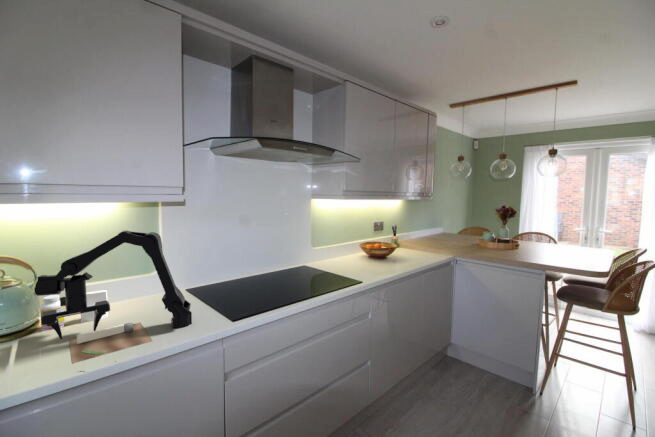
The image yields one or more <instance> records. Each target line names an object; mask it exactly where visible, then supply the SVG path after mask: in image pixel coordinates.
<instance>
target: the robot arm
mask: <svg viewBox="0 0 655 437" xmlns="http://www.w3.org/2000/svg"><path fill="white" fill-rule="evenodd" d="M124 243H125V244H130V245H133V246H136V247H137V246H138V247H142V249H143V250H144V252H145V254H146V255H147V256H148V257H149V258H150V259H151V261H152V264H153V266H154V268H155V271H156V275H158V278H159V280H160V283H161V286H162V288H163V290H164V291H163V292H164V294H163V295H162V298H161V301H162V303H163V305H164V310H167V311H168V312H169V313H171V314H172V317H171V319H170V321H171V324H170V325H171V328H172V329H182V328H186V327H189V326H190V325H192V322H193V321H192V320H193V319H192V318H193V317H192V316H193V315H192V311H191V305H192V304H191V303H190V302H189V301H187V300H186V298H185V296H184V294H183V293H182V291H181V290H180V289H179V288H178V287H177V285H176V283H175V281H174V278H173V276H172V274H171V270H170V268H169V266H168V262H167V260H166V259H165V256H164V251H163V243H162V237H161V235H160V234H159V233H157V232H153V231H152V232H147V233H146V232H141V231H140V232H138V231H131V230H122V231H121V232H118V234H117V235H115V236H113V237H111V238H110V239H108V240H106V241H105V242H102V243H100V244H99V245H97V246H95V247H94V248H92V249H90V250H88V251H85V252H83V253H80V254H78V255H75V256H72V257H70V258H69V259H66V260H64V261H63V262H62V263H61V265H60V269H59V272H57V274H54V275H53V274H52V275H50V274H49V275H47V274H43V275H42V274H41V275H39V276H37V281H36V282H35V287H34V289H33V290H34V293H35V296H37V297H40V296H50V295H60V294H61V293H62V292H63V291H64V294H65V295H64V296H62V297H61V296H60V297H59V301H60V306H63V307H65V310H64V311H63V312H58V313H56V310H52V311H47V312H43V313H42V314H41V313H40V324H41V325H46V324H47V326H51V327H52V328H53V329H52V330H54V331H55V332H56V335H57V336H58V337H59V339H60V340H63V333H62V329H61V328H60V325H59V320H58V318H61V317H64V318H65V317H71V316H76V315H81V313H86V312H91V311H94V321H93V327H92V328H93V331H97V329H98V328H97V327H98V325H99V323H100V321H101V320H102V319H101V317H102V315H104V314H106V312H108V313H109V312H110V311H111V305H110V302H109V301H106V300H105V301H100V302H95V305H94V306H89V307H87V297H86V292H87V284H86V283H87V282H86V281H89V280H91V279H92V278H93V275H92V274H90V273H89V272H86V271H85V270H86V268H88V267H89V266H90V265H92V264H93V263H94V262H95V261H96V260H97V259H99V258H100V257H102V256H104V255H106V254H108V253H109V252H111V251H113V250H114V249H116V248H118V247H120V246H121V245H123V244H124ZM83 271H85V272H84V273H83V274H80V273H82V272H83ZM69 276H71V277H69Z"/></svg>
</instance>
